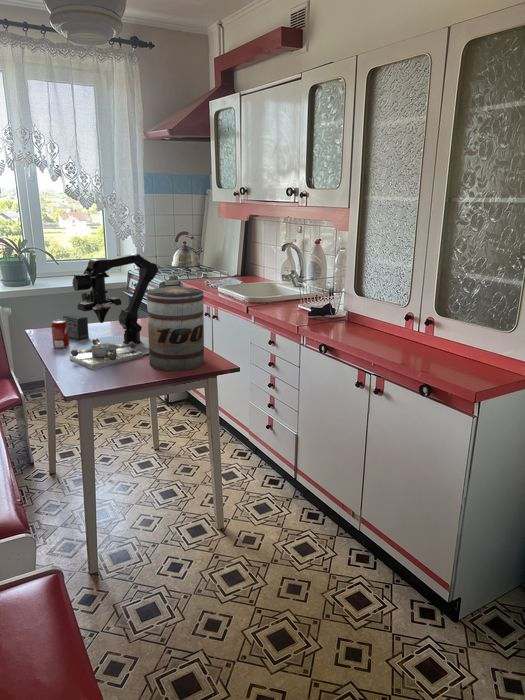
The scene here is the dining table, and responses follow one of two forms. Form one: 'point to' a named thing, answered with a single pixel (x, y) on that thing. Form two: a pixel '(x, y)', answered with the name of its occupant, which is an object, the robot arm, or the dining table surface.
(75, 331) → the small box
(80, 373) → the dining table surface
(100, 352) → the capstan
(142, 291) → the robot arm
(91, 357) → the stand
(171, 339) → the barrel
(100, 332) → the dining table surface
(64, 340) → the soda can
